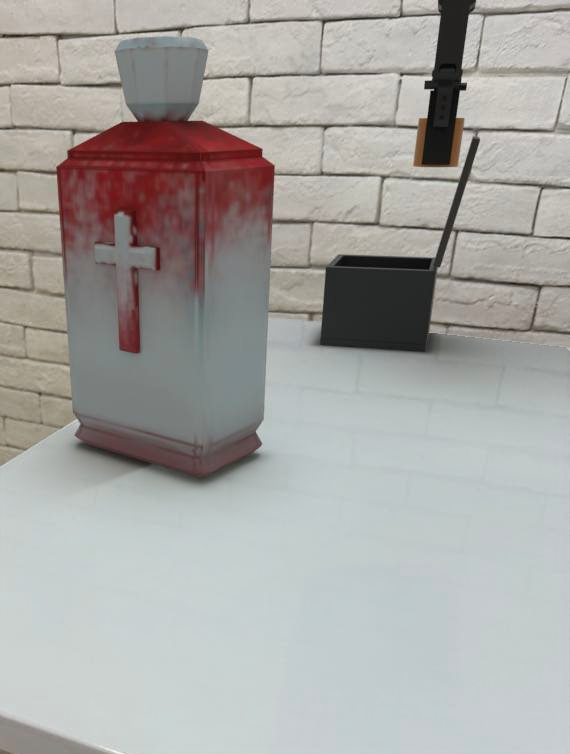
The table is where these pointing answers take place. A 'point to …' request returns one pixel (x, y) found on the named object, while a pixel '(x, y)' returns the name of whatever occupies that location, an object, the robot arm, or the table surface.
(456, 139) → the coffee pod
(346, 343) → the black storage bin
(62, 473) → the table surface
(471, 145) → the lid
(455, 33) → the robot arm
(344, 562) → the table surface
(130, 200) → the bottle
